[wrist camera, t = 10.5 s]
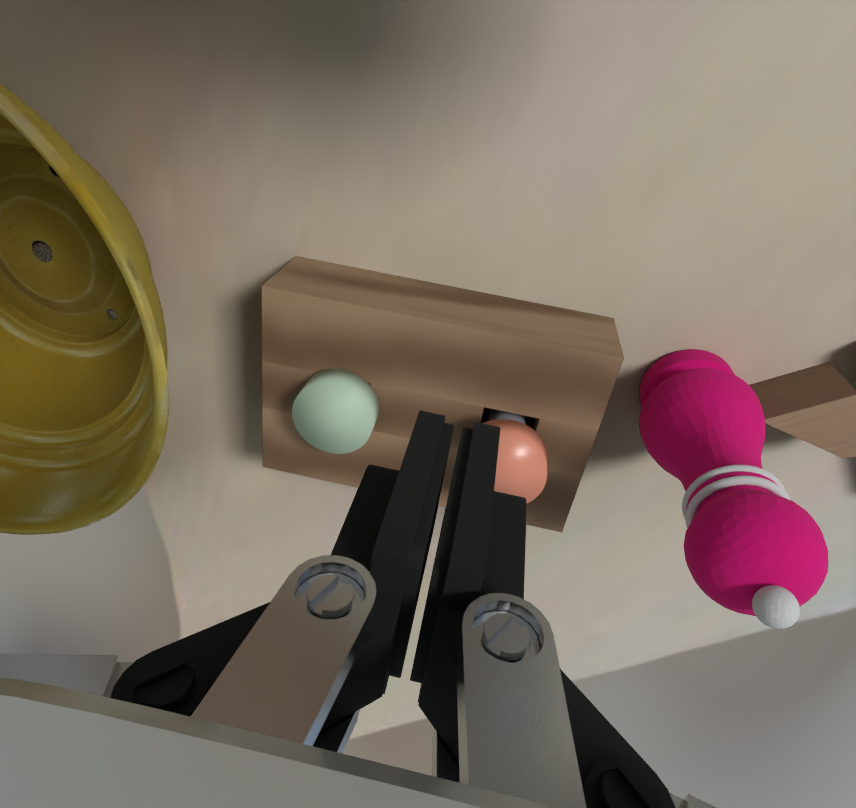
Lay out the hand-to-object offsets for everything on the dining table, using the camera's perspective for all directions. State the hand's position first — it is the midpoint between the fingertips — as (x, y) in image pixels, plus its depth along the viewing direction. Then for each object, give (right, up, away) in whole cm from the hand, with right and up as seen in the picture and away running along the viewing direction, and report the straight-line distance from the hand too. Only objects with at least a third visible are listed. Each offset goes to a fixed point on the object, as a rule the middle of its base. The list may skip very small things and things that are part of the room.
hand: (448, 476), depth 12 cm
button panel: (0, +4, +32) cm, 32 cm away
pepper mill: (+18, +3, +30) cm, 35 cm away
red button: (+5, +1, +30) cm, 30 cm away
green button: (-5, +4, +32) cm, 33 cm away
